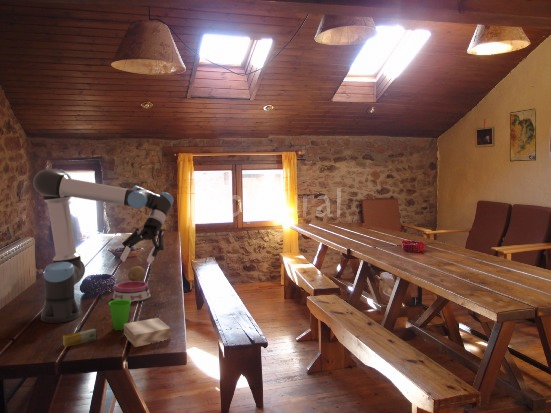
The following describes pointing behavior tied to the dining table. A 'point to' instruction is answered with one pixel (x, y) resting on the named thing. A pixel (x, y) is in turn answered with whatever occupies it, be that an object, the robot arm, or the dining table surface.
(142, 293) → the dog bowl
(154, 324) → the birch block
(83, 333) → the medication box
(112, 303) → the cup
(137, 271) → the natural sponge
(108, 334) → the dining table surface
